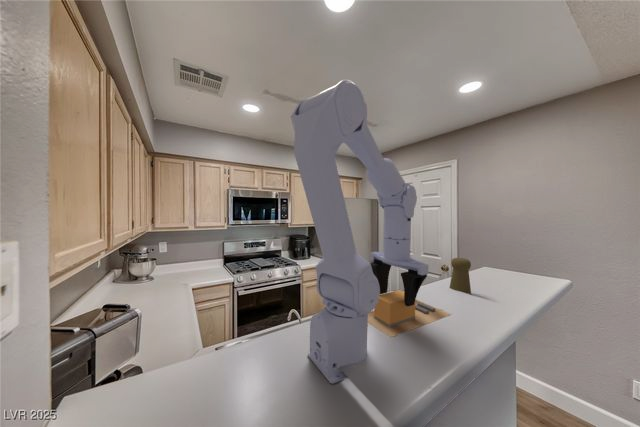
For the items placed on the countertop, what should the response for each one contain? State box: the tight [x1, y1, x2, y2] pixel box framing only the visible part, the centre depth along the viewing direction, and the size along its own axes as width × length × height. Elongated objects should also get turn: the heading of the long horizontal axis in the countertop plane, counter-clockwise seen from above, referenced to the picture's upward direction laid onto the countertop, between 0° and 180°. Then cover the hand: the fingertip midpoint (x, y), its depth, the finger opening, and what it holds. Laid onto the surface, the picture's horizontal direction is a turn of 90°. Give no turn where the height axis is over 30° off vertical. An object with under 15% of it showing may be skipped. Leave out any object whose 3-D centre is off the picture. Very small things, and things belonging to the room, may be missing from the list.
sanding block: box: [373, 289, 417, 327], centre depth 52 cm, size 8×4×5 cm, turn 120°
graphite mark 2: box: [417, 301, 436, 312], centre depth 57 cm, size 1×4×1 cm, turn 30°
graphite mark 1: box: [415, 305, 429, 314], centre depth 56 cm, size 1×4×1 cm, turn 30°
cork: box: [449, 257, 472, 296], centre depth 72 cm, size 6×6×11 cm
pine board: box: [368, 299, 452, 338], centre depth 53 cm, size 20×10×2 cm, turn 120°
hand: (395, 298), depth 52 cm, fingers open, 7 cm apart
